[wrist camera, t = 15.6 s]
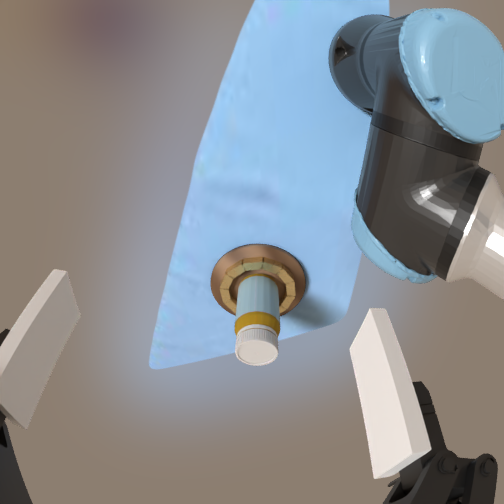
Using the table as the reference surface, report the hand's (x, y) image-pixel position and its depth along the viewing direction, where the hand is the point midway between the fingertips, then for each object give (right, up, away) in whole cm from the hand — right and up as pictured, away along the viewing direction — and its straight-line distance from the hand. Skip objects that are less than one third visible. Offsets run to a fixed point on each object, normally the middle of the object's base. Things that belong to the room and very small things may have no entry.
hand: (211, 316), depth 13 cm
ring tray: (+3, -3, +44) cm, 44 cm away
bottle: (+3, -4, +43) cm, 43 cm away
